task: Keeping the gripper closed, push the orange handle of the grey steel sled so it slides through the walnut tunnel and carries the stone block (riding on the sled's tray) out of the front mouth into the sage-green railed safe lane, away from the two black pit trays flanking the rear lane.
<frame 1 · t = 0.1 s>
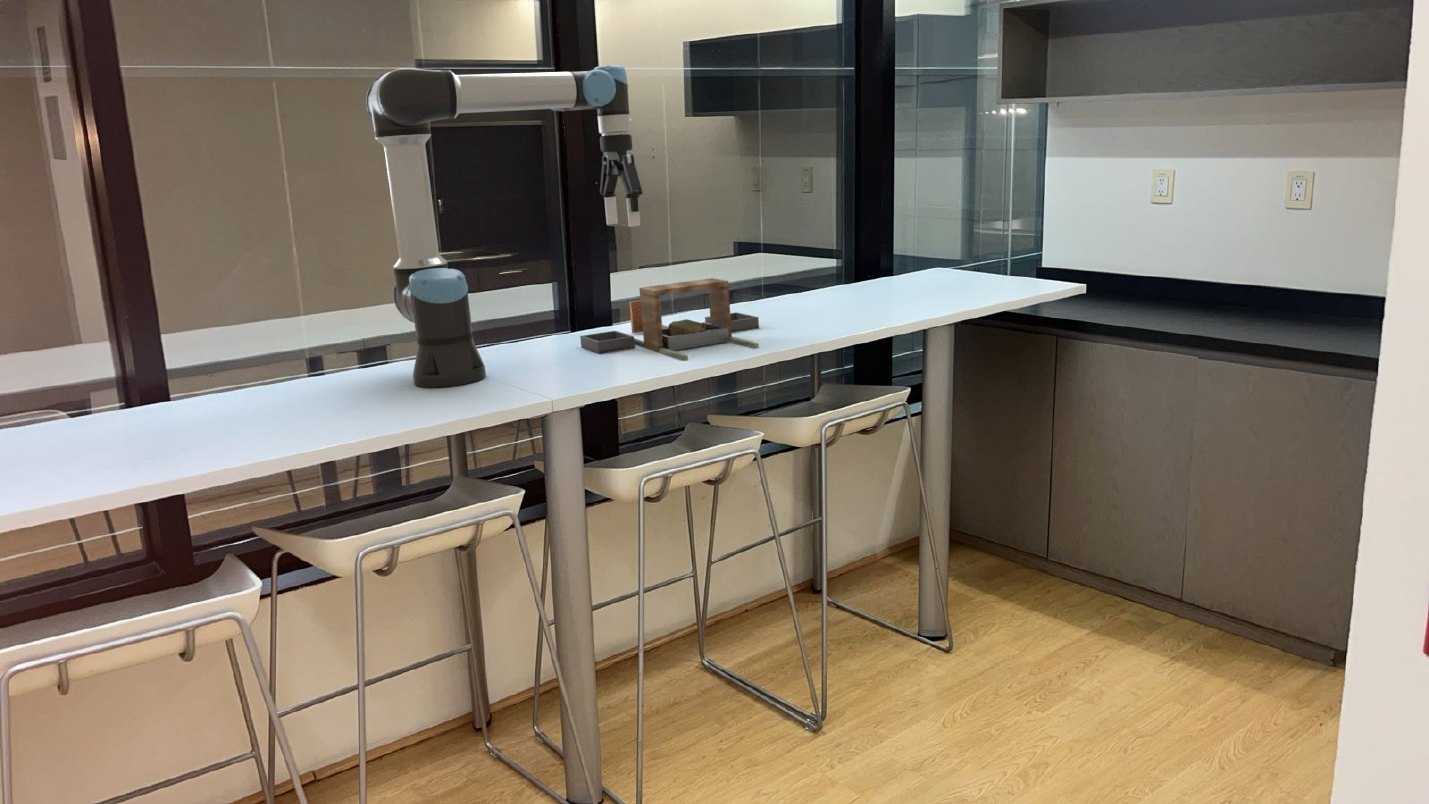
hand: (623, 225, 255), 28 cm above the table, fingers open, 13 cm apart
tunnel: (688, 344, 250), on the table
stone block: (688, 344, 250), resting on sled
sled: (670, 321, 257), point 4 cm above the table, slide at 0.0 cm, touching stone block
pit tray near: (607, 347, 252), on the table
pit tray far: (732, 328, 268), on the table
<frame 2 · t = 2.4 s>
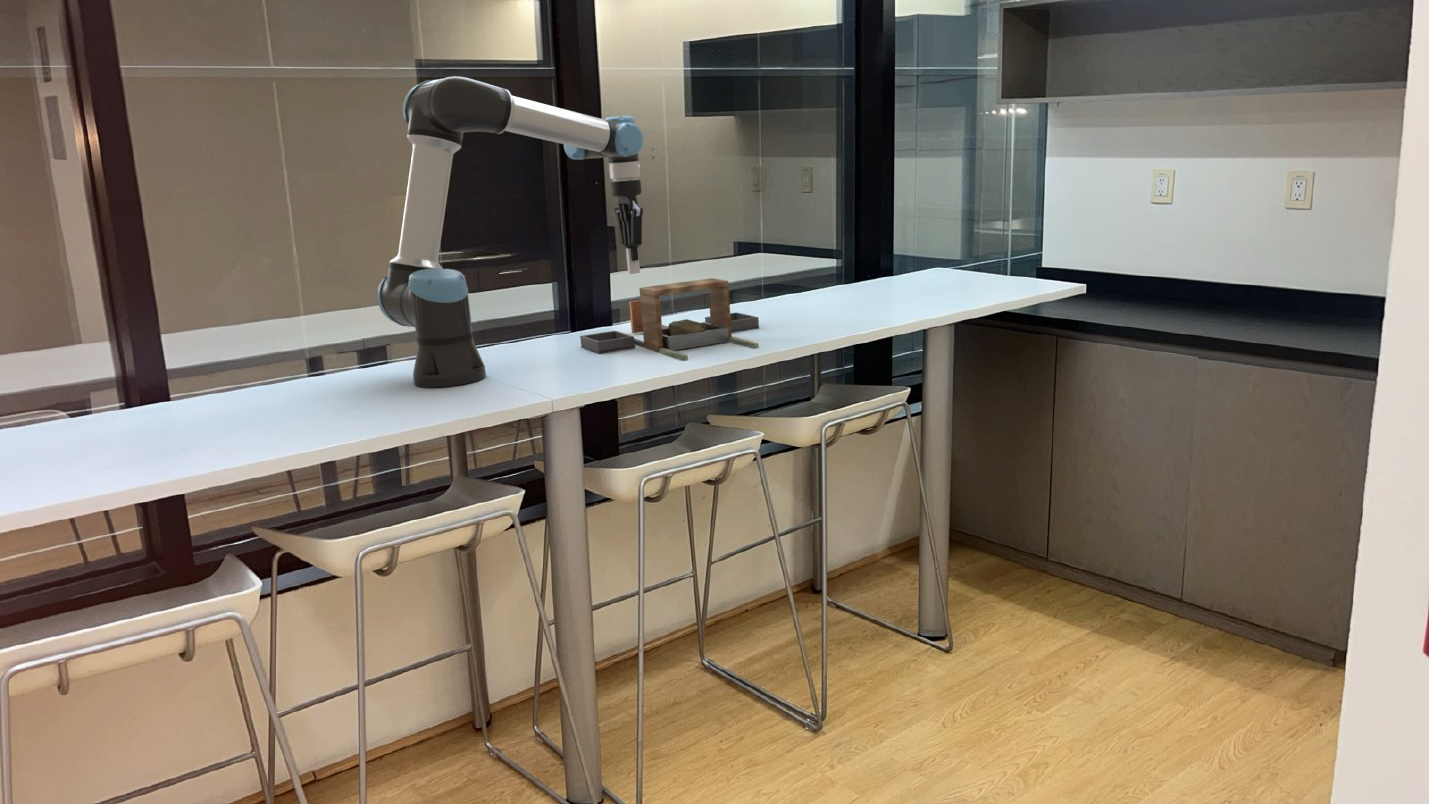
hand: (634, 273, 272), 15 cm above the table, fingers closed
nothing on the table moved.
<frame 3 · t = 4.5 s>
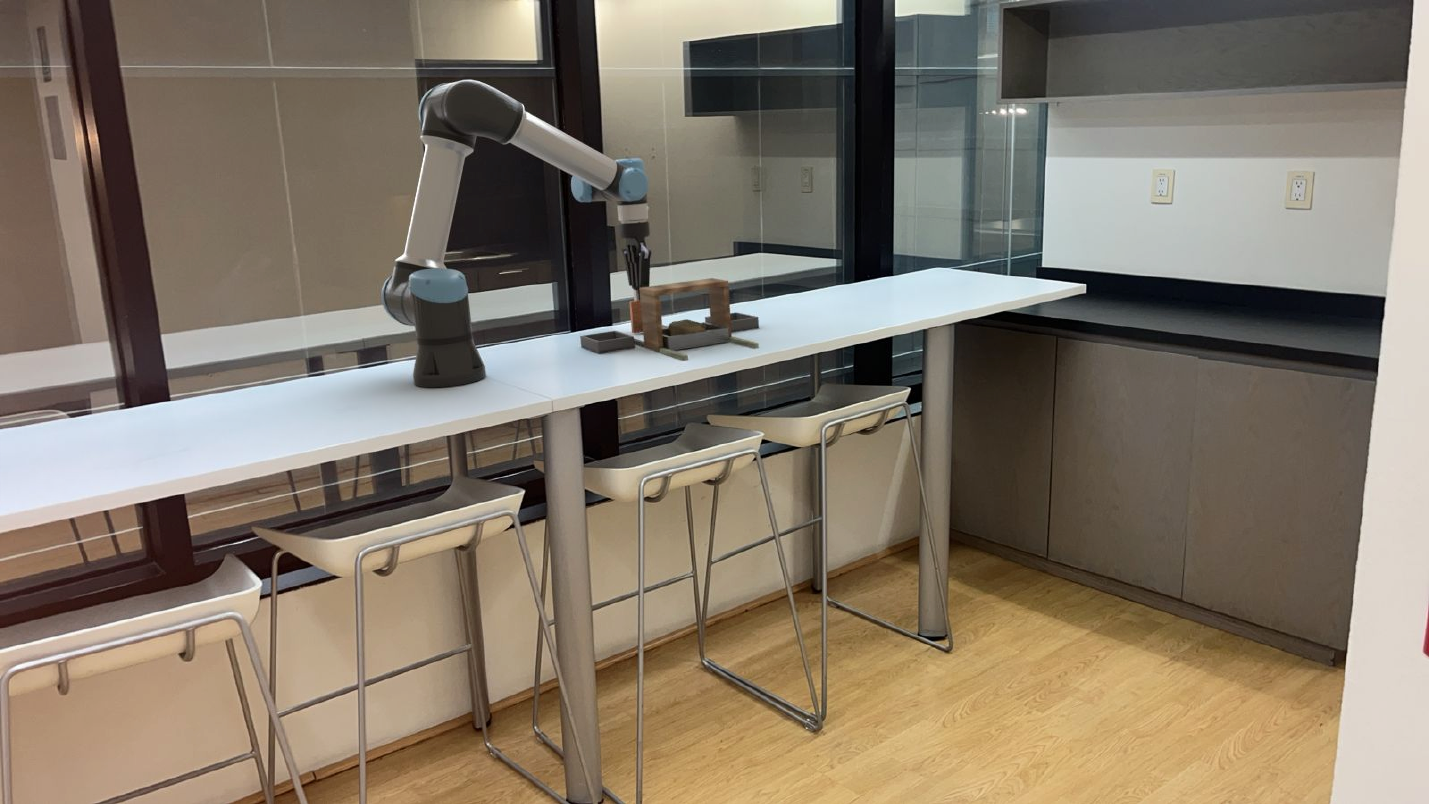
hand: (641, 314, 271), 4 cm above the table, fingers closed
sled: (670, 321, 257), point 4 cm above the table, slide at 0.0 cm, touching gripper, stone block
everything else where it was.
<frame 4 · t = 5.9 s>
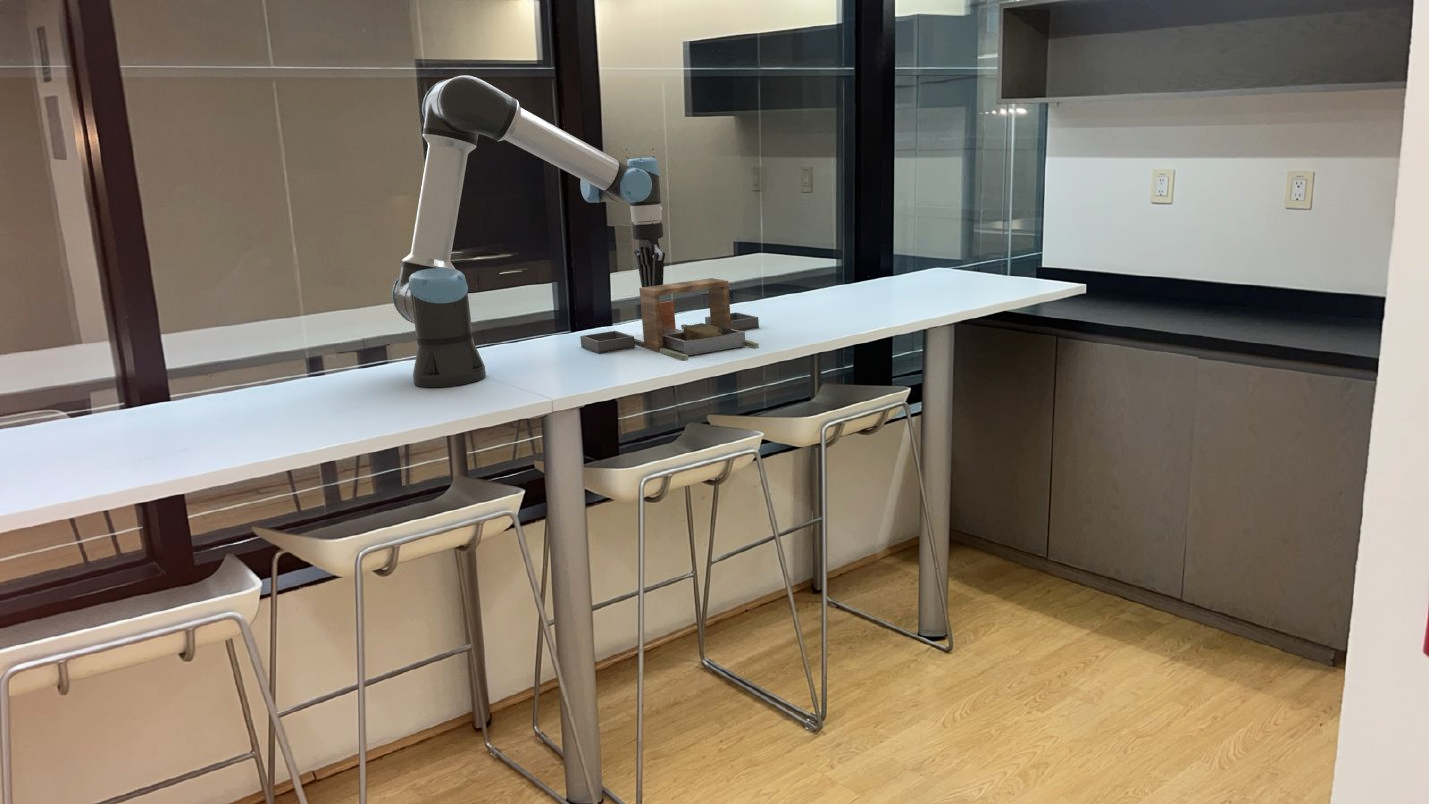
hand: (654, 317, 264), 4 cm above the table, fingers closed
stone block: (703, 348, 243), resting on sled
sled: (684, 325, 250), point 4 cm above the table, slide at 8.0 cm, touching gripper, stone block
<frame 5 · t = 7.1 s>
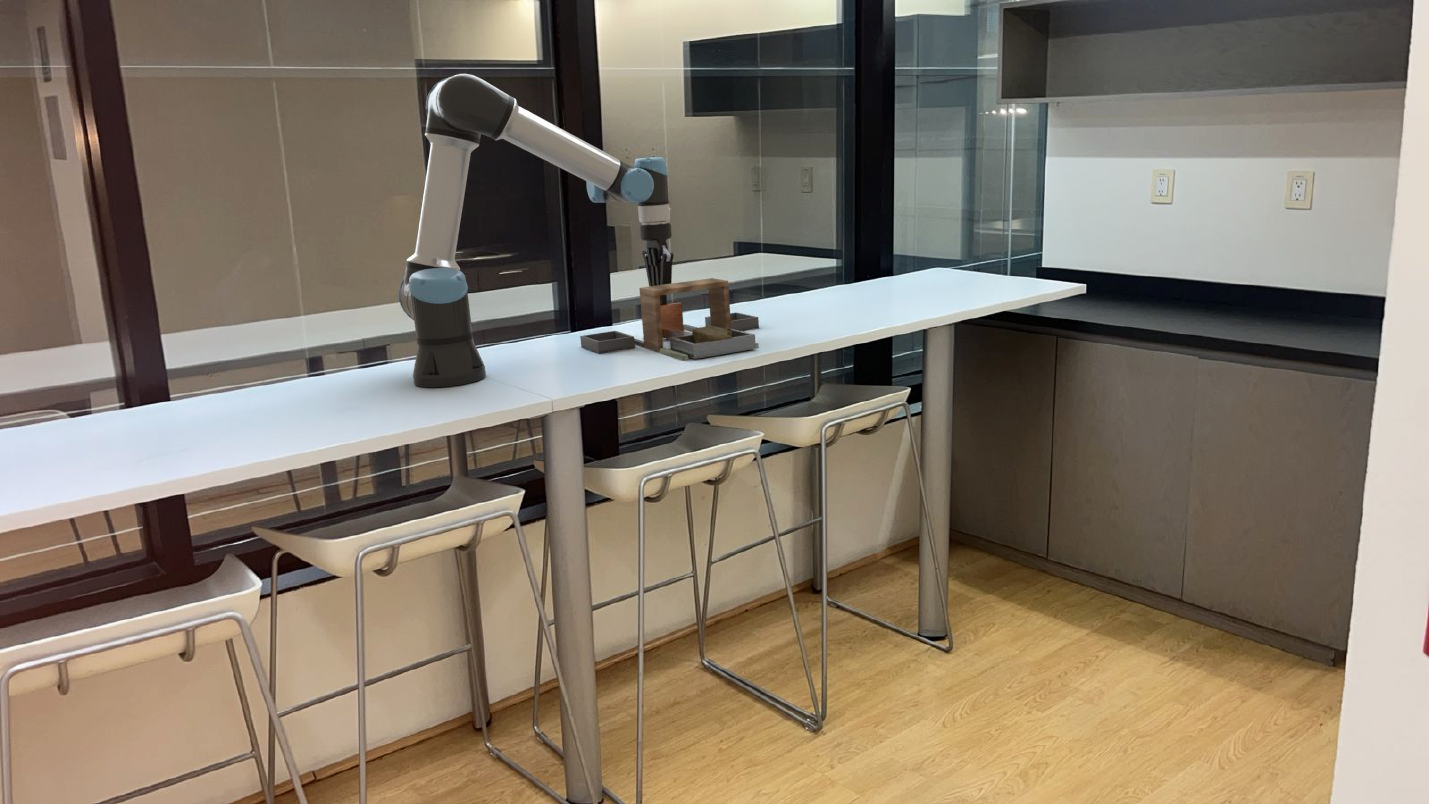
hand: (662, 319, 260), 4 cm above the table, fingers closed
stone block: (713, 351, 239), resting on sled
sled: (693, 327, 246), point 4 cm above the table, slide at 12.5 cm, touching gripper, stone block
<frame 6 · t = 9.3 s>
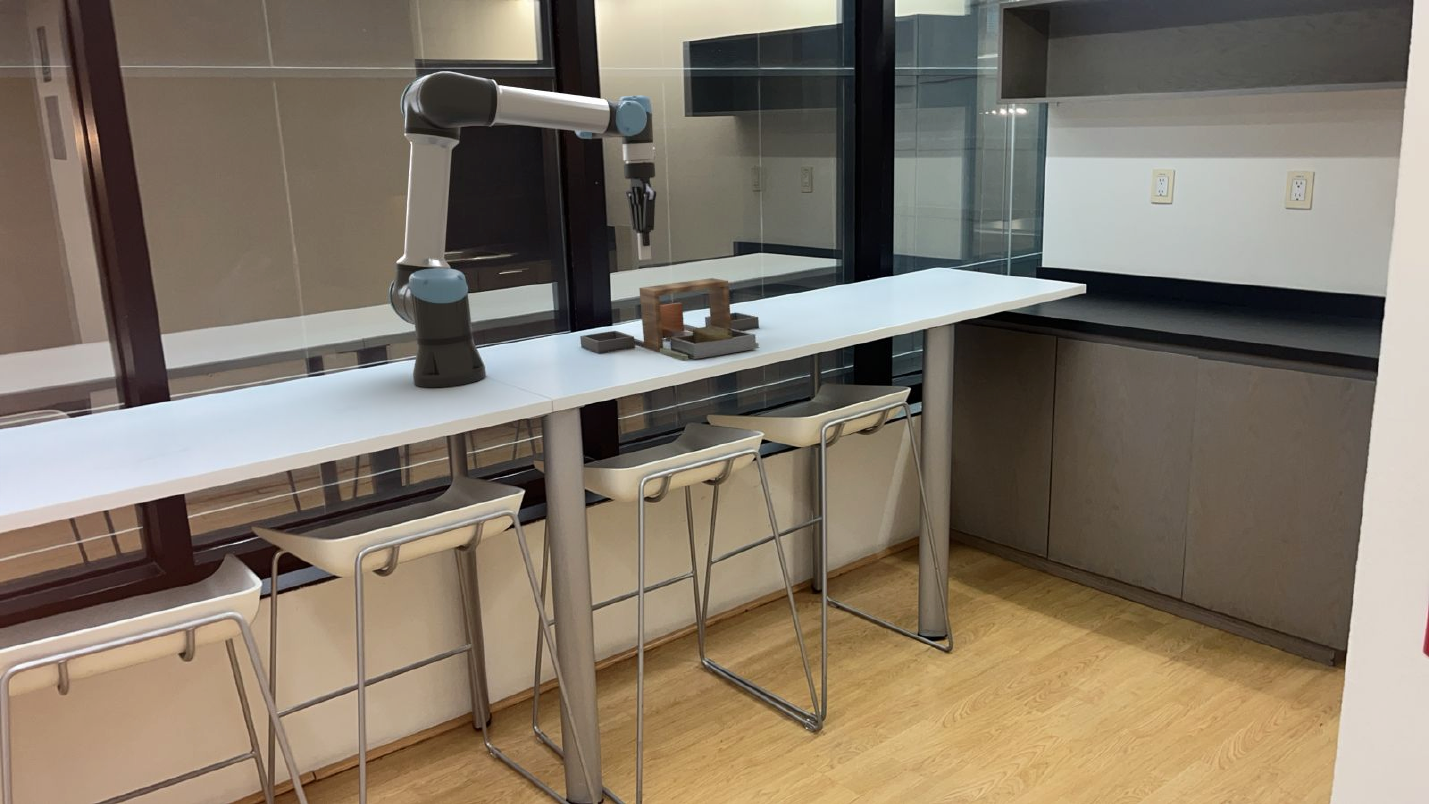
hand: (645, 259, 263), 19 cm above the table, fingers closed
sled: (694, 328, 246), point 4 cm above the table, slide at 12.7 cm, touching stone block
everything else where it was.
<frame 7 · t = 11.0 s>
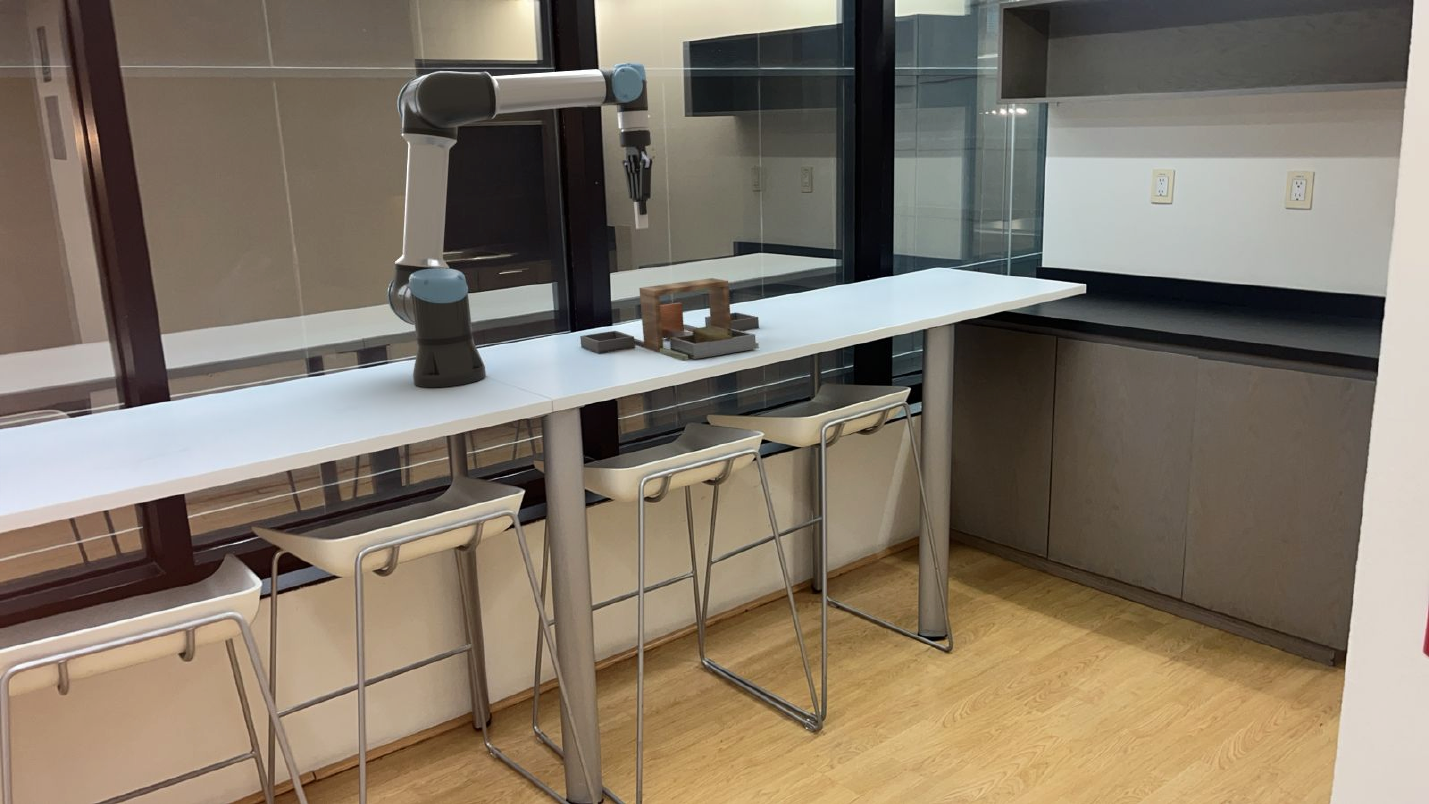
hand: (642, 228, 262), 26 cm above the table, fingers closed
nothing on the table moved.
at the end: stone block inside the target area (1.4 cm from its centre), resting on sled; sled slide at 12.6 cm; stone block tilted 0° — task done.
